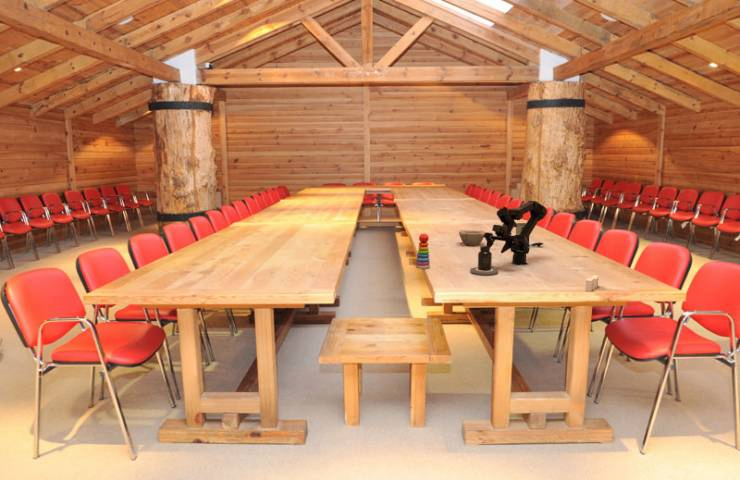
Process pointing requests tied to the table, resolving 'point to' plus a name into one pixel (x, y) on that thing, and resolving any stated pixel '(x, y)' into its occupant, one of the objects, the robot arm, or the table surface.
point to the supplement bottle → (484, 258)
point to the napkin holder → (591, 283)
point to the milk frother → (518, 231)
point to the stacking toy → (423, 253)
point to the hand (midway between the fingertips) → (493, 251)
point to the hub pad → (483, 272)
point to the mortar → (471, 237)
